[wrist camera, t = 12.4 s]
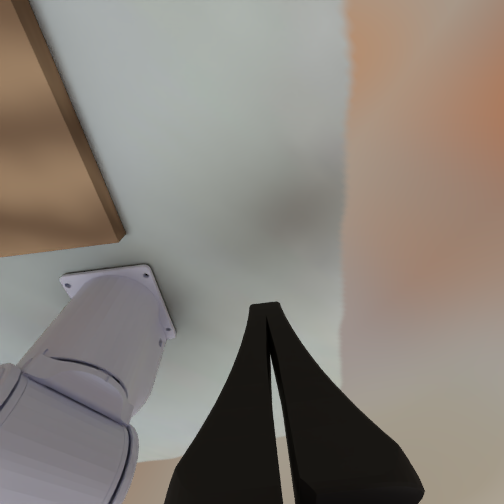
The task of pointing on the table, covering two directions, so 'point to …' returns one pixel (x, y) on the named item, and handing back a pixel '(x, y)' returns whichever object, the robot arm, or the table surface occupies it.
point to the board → (44, 151)
